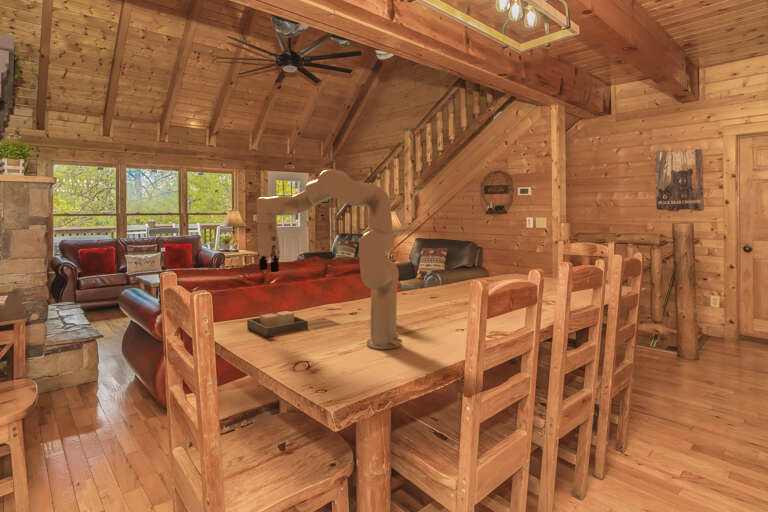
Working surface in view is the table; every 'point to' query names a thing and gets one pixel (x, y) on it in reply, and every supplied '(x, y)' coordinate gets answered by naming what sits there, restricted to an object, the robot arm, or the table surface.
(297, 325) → the charcoal bin
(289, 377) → the table surface
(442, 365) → the table surface
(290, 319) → the peach cube
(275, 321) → the beige cube
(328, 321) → the walnut board
